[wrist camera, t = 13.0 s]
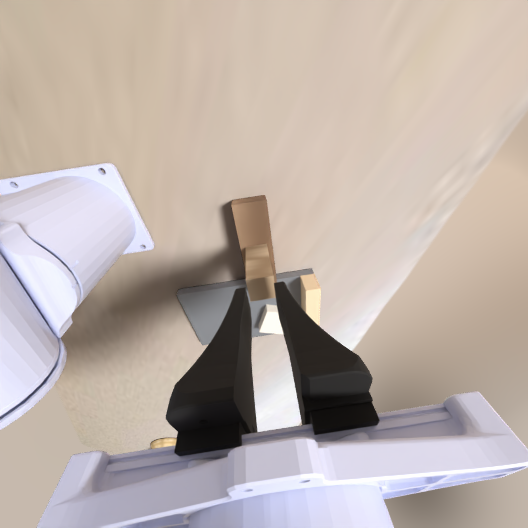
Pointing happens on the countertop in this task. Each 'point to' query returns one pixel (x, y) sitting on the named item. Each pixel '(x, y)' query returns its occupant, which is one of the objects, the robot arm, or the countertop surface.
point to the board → (220, 296)
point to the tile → (270, 320)
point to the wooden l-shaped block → (255, 246)
